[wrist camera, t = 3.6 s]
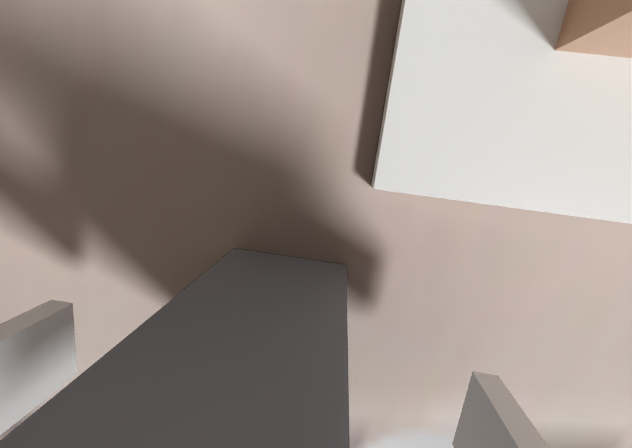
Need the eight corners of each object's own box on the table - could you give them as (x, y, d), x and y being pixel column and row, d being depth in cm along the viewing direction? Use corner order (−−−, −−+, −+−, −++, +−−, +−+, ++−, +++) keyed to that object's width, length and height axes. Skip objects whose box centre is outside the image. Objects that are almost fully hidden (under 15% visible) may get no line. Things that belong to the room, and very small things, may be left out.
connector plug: (234, 248, 13) (-526, 873, 2) (346, 265, 13) (361, 1173, 1) (227, 346, 14) (-257, 1131, 3) (330, 364, 14) (266, 1329, 2)
